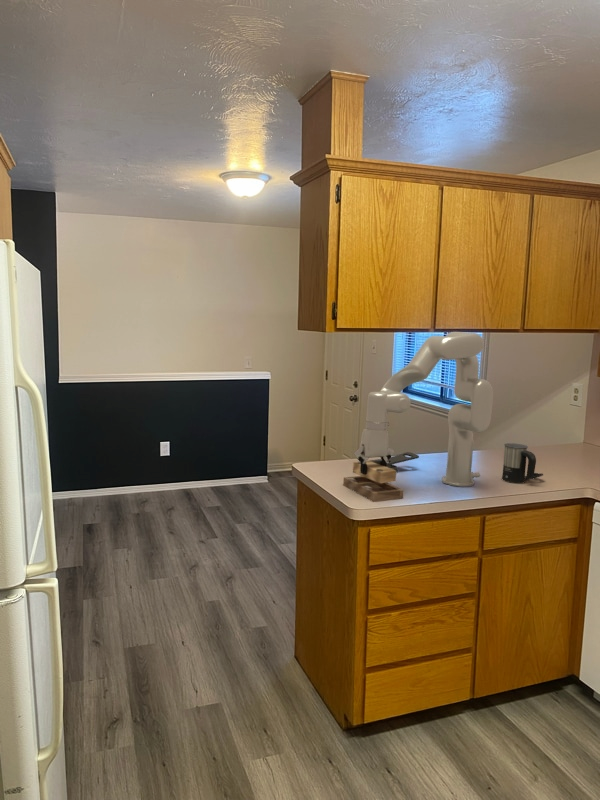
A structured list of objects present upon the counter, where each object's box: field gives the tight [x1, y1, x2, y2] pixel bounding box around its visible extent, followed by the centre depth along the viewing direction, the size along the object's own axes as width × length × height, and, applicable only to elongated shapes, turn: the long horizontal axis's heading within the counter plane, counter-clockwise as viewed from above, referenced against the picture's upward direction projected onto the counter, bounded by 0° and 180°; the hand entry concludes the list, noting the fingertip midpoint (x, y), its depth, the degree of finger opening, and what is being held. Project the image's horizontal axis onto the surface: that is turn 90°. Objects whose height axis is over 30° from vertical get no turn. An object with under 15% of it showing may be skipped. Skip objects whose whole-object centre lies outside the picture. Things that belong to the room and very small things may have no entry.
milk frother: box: [501, 442, 544, 484], centre depth 247 cm, size 14×16×15 cm
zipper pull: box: [368, 451, 420, 473], centre depth 254 cm, size 9×7×25 cm
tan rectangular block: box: [352, 459, 397, 483], centre depth 221 cm, size 16×7×4 cm, turn 33°
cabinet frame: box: [343, 475, 405, 503], centre depth 223 cm, size 22×12×4 cm, turn 25°
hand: (373, 472), depth 222 cm, fingers closed on tan rectangular block, 7 cm apart
